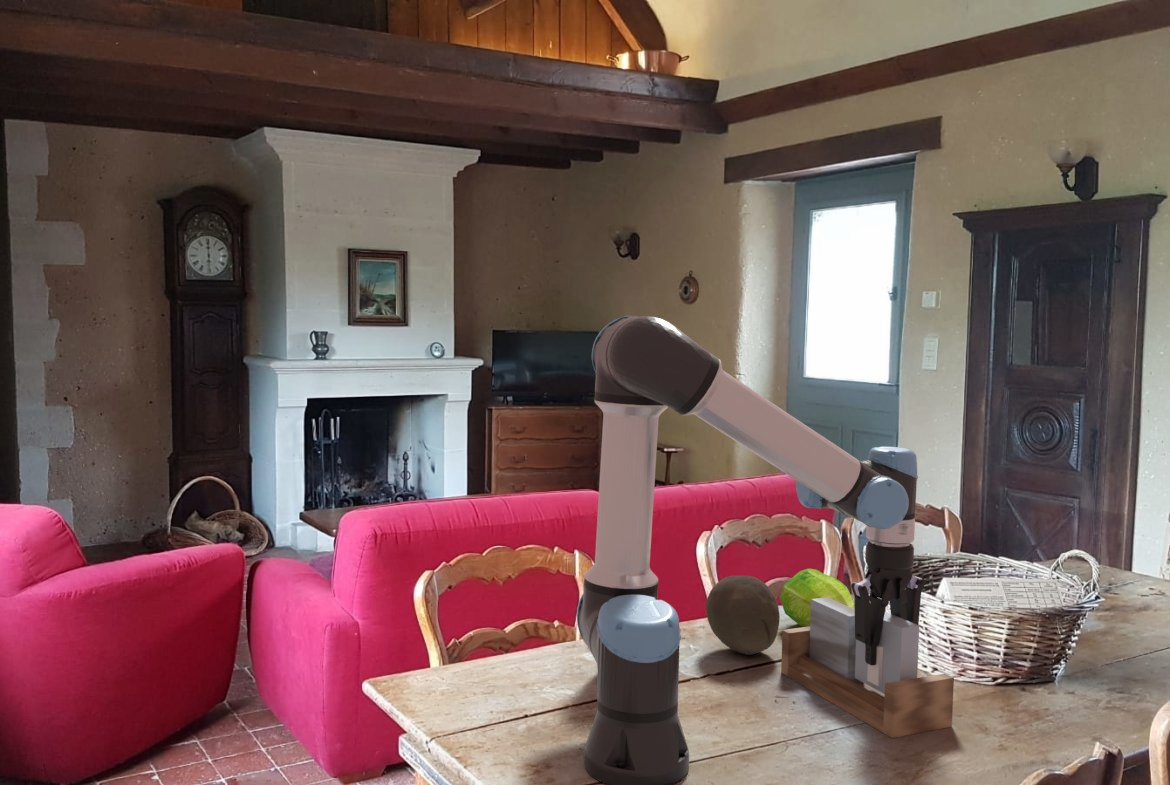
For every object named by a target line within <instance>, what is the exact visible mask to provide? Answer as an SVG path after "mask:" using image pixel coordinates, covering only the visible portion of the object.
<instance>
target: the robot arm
mask: <svg viewBox="0 0 1170 785" xmlns="http://www.w3.org/2000/svg"><path fill="white" fill-rule="evenodd" d="M591 362H592V367H593V370H594V372H595V382H594V386H595V387H594V404H595V405H596V406H598V408H599V410H601V412H602V413H603V417H602V432H601V449H600V450H601V451H600V465H599V466H600V467H599V468H600V469H599V470H600V471H599V484H598V485H599V486H598V487H599V488H598V502H597V503H598V504H597V519H596V521H597V523H596V538H595V555H594V564H593V565H592V566H591V567H590V568H589V569H588V570H586V572H584V578H583V593H582V594H581V597H580V598H579V602H578V604H577V609H576V621H577V622H576V623H577V629H578V632H579V634H580V636H581V638H582V640H583V642H584V644H585V646H587V648H588V650H589V652H590V653H591V655H592V657H593V659H594V660H595V662H596V666H597V667H596V668H597V680H596V681H597V689H596V693H597V694H596V700H597V701H596V703H597V704H596V713H595V717H594V719H593V723H592V724H591V728H590V731H589V734H588V737H587V740H586V742H585V745H584V751H583V752H584V753H583V755H584V757H583V758H584V762H583V765H584V768H585V771H586V773H588V774H589V775H590V776H591V777H592V778H594V779H596V780H597V781H599V782H602V783H604V784H606V785H673V784H676V783H677V782H679V781H681V780H682V779H684V778H685V777H686V775H687V774H688V773H689V769H690V752H689V747H688V743H687V740H686V737H685V733H684V731H683V727H682V724H681V721H680V716H679V681H680V680H679V677H680V675H679V674H680V669H679V668H680V641H681V638H682V636H681V635H682V634H681V628H680V618H679V615H678V612H677V611H676V609H675V608H674V607H673V606H672V605H671V604H669V603H668V602H666V601H665V600H663V599H658V591H659V589H658V588H659V577H658V576H657V575H656V574H655V572H653V571H652V569H651V568H650V562H651V548H652V546H651V545H652V532H653V531H652V528H653V515H654V513H653V512H654V500H655V499H654V497H655V482H656V466H657V450H658V437H659V436H658V433H659V432H658V431H659V417H660V416H661V414H662V413H664V412H665V410H667V409H668V408H670V409H672V410H673V411H675V412H677V413H678V414H679V415H681V416H683V417H686V416H687V417H688V416H690V415H694V416H695V417H697V418H698V419H700V420H702V421H704V423H707V424H708V425H709V426H711V427H712V428H714V429H716V430H717V431H719V432H720V433H721V434H723V435H725V436H727V437H728V438H730V439H731V440H733V441H734V442H736V443H737V444H739V445H740V446H742V447H744V448H745V449H747V450H748V451H750V452H751V453H753V454H755V455H756V456H758V457H760V458H761V459H762V460H764V461H766V462H767V463H769V464H770V465H772V466H774V468H777V470H780V471H781V472H783V473H784V474H785V475H788V476H789V477H790V478H793V479H794V480H795V490H796V495H797V498H798V501H799V503H800V504H801V505H802V506H803V507H805V508H807V509H818V510H822V509H832V510H835V511H836V512H838V513H841V514H843V515H845V516H847V517H850V518H852V519H855V520H857V521H859V522H860V523H862V524H864V525H865V526H866V527H865V528H866V532H865V537H866V539H868V541H867V542H866V543H865V563H866V565H867V571H866V573H865V575H864V579H862V580H861V581H860V582H856V581H853V582H852V583H851V586H850V587H851V590H852V593H853V597H854V600H853V602H854V605H855V639H856V640H858V641H860V642H863V643H865V661H866V663H867V664H868V673H867V681H869V682H871V683H873V684H875V685H877V686H882V664H883V646H880V645H879V642H880V636H881V631H882V625H883V620H884V614H885V611H886V609H887V607H888V606H889V608H890V609H889V610H890V614H893V615H895V616H897V617H900V618H902V619H905V620H907V621H909V622H912V623H914V624H916V625H919V624H920V623H919V622H920V613H921V612H920V610H921V599H922V592H923V590H924V587H925V585H926V580H925V579H924V578H922V577H919V576H916V575H913V573H912V570H911V568H913V566H914V556H915V555H914V553H915V546H914V545H913V544H912V543H913V542H914V541H915V528H916V505H917V504H916V503H917V502H916V501H917V500H916V499H917V486H918V485H917V481H918V479H919V478H918V462H917V461H918V459H917V454H916V453H915V451H913V450H912V449H909V448H905V447H897V446H879V447H878V446H877V447H872V448H871V449H870V450H869V452H868V456H867V459H865V460H858V458H856V457H854V456H853V455H852V454H850V453H849V452H847V451H846V450H844V449H843V448H841V447H839V446H838V445H837V444H835V443H834V442H832V440H829V439H827V438H826V437H825V436H824V435H822V434H820V433H818V432H817V431H815V430H814V429H813V428H811V427H809V426H808V425H806V424H805V423H804V422H802V421H801V420H799V419H798V418H796V417H794V416H793V415H791V414H790V413H788V412H787V411H786V410H784V409H782V408H781V407H779V406H778V405H777V404H775V403H773V402H772V401H770V400H769V399H767V398H766V397H764V396H763V395H761V394H760V393H758V392H756V391H755V390H754V389H752V388H750V387H749V386H747V385H746V384H744V383H743V382H742V381H740V380H739V379H737V378H735V377H734V376H732V375H731V374H729V373H728V372H726V371H725V370H724V369H723V364H722V360H721V358H720V359H719V358H718V357H717V356H715V355H714V354H712V353H711V352H710V351H708V350H707V349H705V348H704V347H703V346H701V345H700V344H698V343H697V342H696V341H695V340H693V338H691V337H689V336H688V335H687V334H686V333H684V332H683V331H682V330H681V329H679V328H678V327H677V326H676V325H674V324H672V323H671V322H669V321H667V320H665V319H663V318H659V317H657V316H656V317H655V316H648V315H647V316H646V315H645V316H640V315H639V316H638V315H624V316H623V317H619V318H617V319H615V320H612V321H610V322H609V323H608V324H607V325H605V326H604V327H603V328H602V329H601V330H600V331H599V333H598V334H597V336H596V337H595V340H594V342H593V345H592V350H591Z"/></svg>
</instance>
